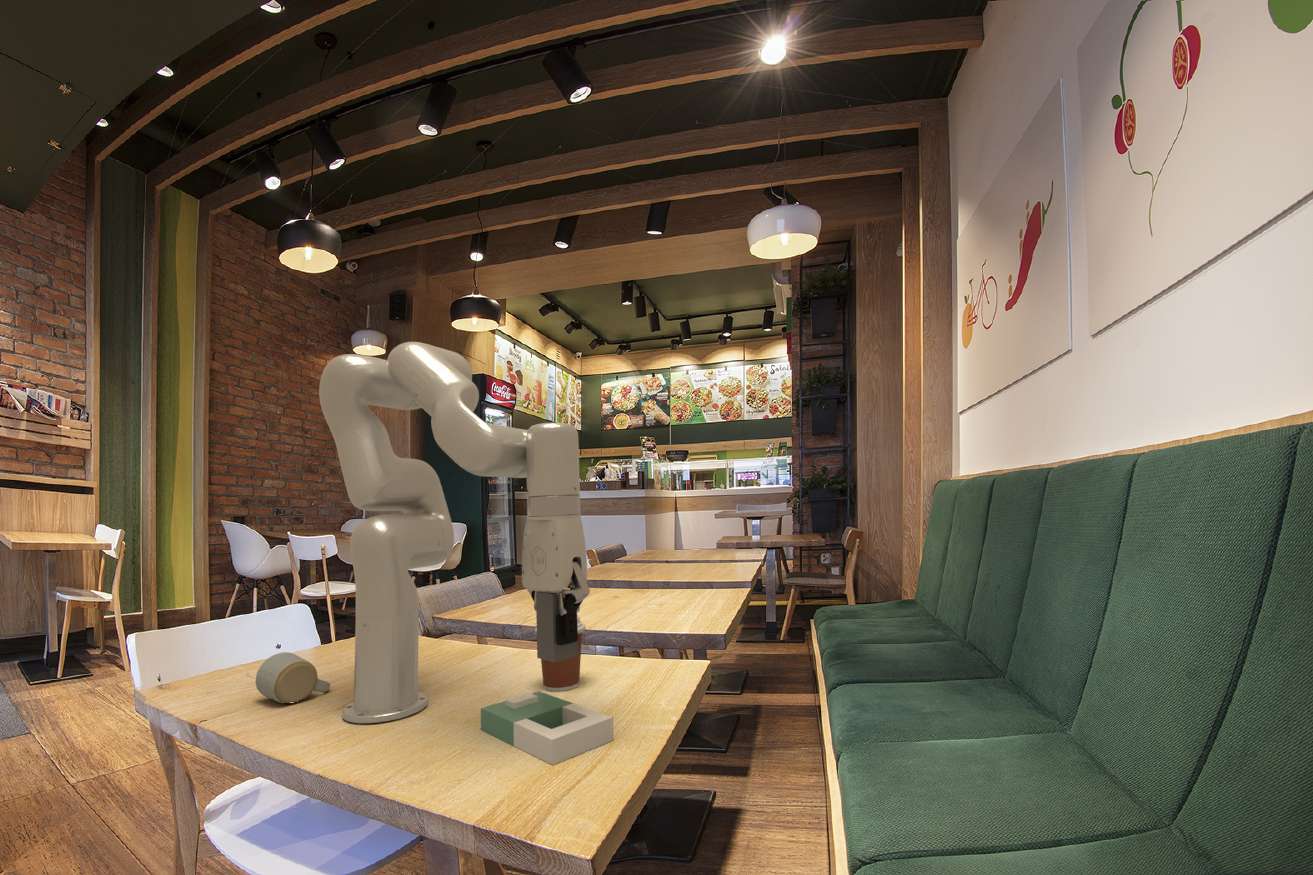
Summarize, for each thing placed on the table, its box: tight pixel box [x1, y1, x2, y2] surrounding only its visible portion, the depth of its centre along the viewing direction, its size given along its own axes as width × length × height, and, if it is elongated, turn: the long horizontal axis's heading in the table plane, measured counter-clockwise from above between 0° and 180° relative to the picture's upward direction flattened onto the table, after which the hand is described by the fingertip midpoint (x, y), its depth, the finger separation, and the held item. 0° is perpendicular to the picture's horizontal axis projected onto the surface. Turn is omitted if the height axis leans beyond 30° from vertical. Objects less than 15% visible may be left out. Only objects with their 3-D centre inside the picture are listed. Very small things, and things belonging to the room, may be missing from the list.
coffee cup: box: [534, 614, 587, 693], centre depth 106 cm, size 9×9×12 cm
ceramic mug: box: [255, 651, 332, 704], centre depth 104 cm, size 11×8×8 cm
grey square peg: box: [535, 588, 578, 662], centre depth 82 cm, size 4×4×9 cm
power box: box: [480, 691, 614, 766], centre depth 83 cm, size 18×10×4 cm, turn 45°
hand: (557, 639), depth 82 cm, fingers closed on grey square peg, 4 cm apart
